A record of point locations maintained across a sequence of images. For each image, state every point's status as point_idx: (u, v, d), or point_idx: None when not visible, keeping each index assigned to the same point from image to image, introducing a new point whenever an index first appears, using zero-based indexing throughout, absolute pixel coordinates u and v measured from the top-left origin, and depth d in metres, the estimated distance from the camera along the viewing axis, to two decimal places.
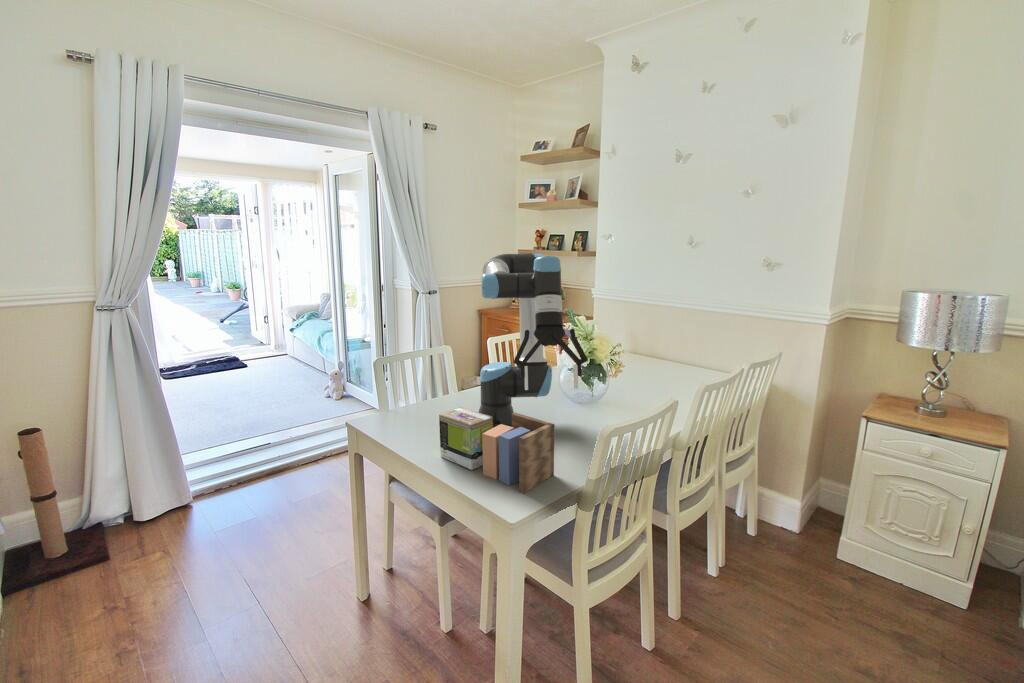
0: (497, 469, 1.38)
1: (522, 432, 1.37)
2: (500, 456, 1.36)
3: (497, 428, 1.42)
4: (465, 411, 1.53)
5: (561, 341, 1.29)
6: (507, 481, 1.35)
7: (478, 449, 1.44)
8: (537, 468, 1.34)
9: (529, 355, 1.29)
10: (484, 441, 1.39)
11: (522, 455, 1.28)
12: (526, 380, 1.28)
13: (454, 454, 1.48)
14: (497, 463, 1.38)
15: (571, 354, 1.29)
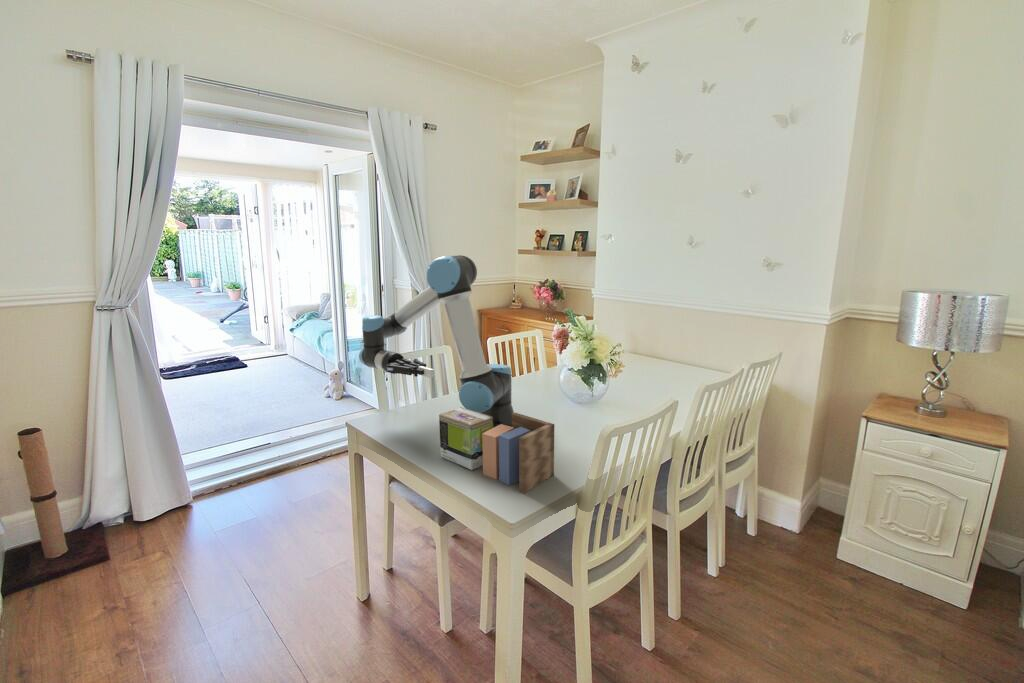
0: (497, 469, 1.38)
1: (522, 432, 1.37)
2: (500, 456, 1.36)
3: (497, 428, 1.42)
4: (465, 411, 1.53)
5: None
6: (507, 481, 1.35)
7: (478, 449, 1.44)
8: (537, 468, 1.34)
9: None
10: (484, 441, 1.39)
11: (522, 455, 1.28)
12: None
13: (454, 454, 1.48)
14: (497, 463, 1.38)
15: None
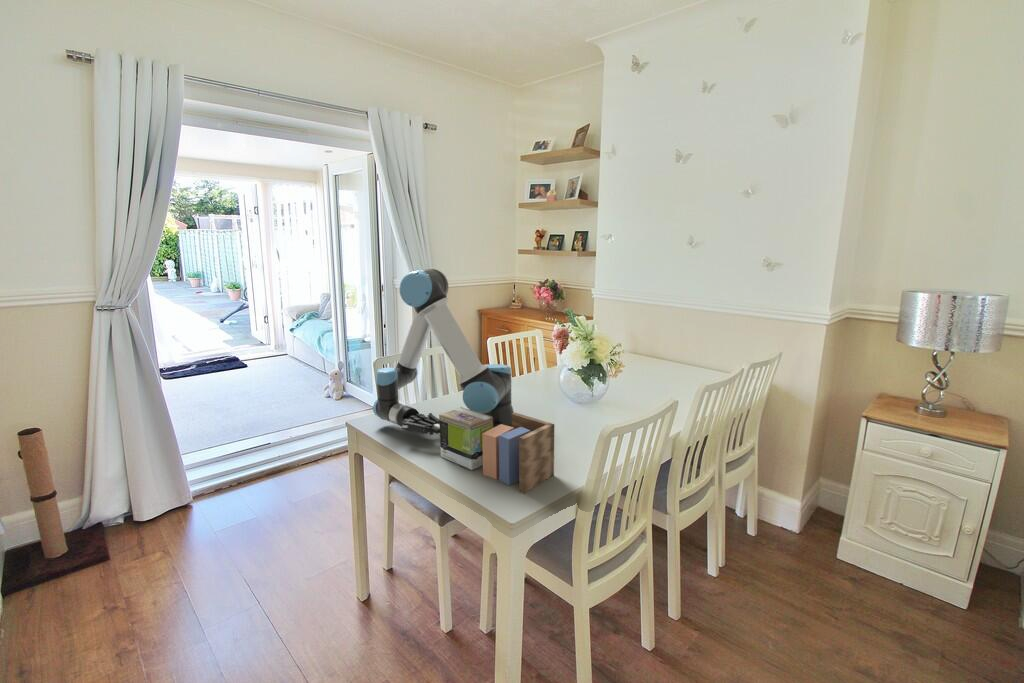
0: (497, 469, 1.38)
1: (522, 432, 1.37)
2: (500, 456, 1.36)
3: (497, 428, 1.42)
4: (465, 411, 1.53)
5: None
6: (507, 481, 1.35)
7: (478, 448, 1.44)
8: (537, 468, 1.34)
9: None
10: (484, 441, 1.39)
11: (522, 455, 1.28)
12: None
13: (454, 454, 1.48)
14: (497, 463, 1.38)
15: None
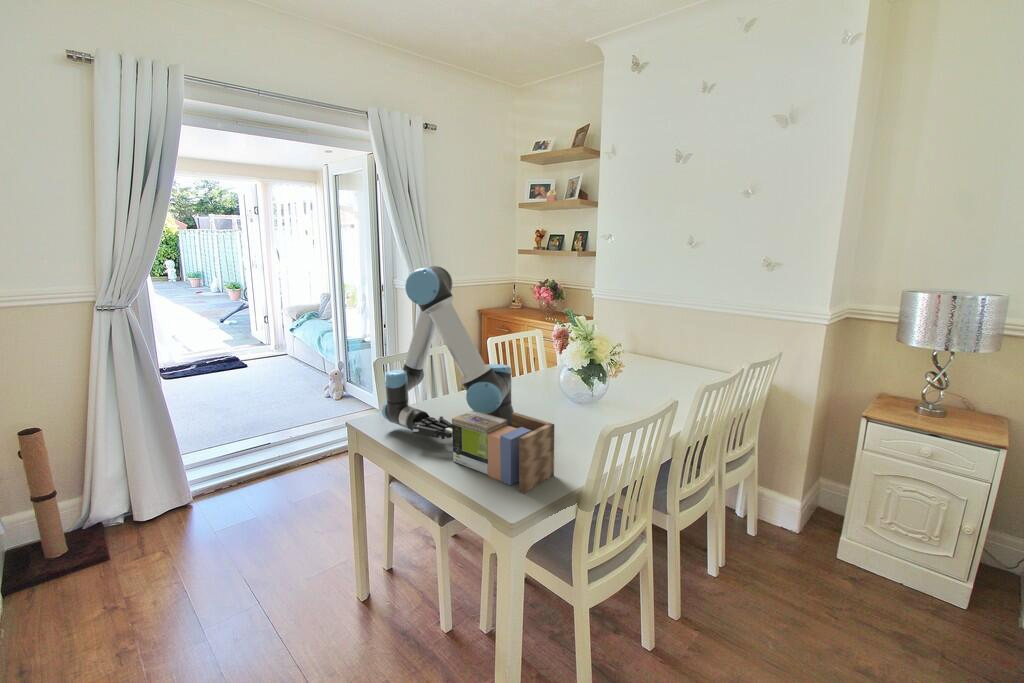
0: None
1: (523, 432, 1.37)
2: (501, 457, 1.35)
3: (503, 429, 1.41)
4: (478, 414, 1.49)
5: None
6: (509, 481, 1.35)
7: None
8: (537, 468, 1.34)
9: None
10: (489, 442, 1.38)
11: (522, 455, 1.28)
12: None
13: (469, 458, 1.44)
14: None
15: None
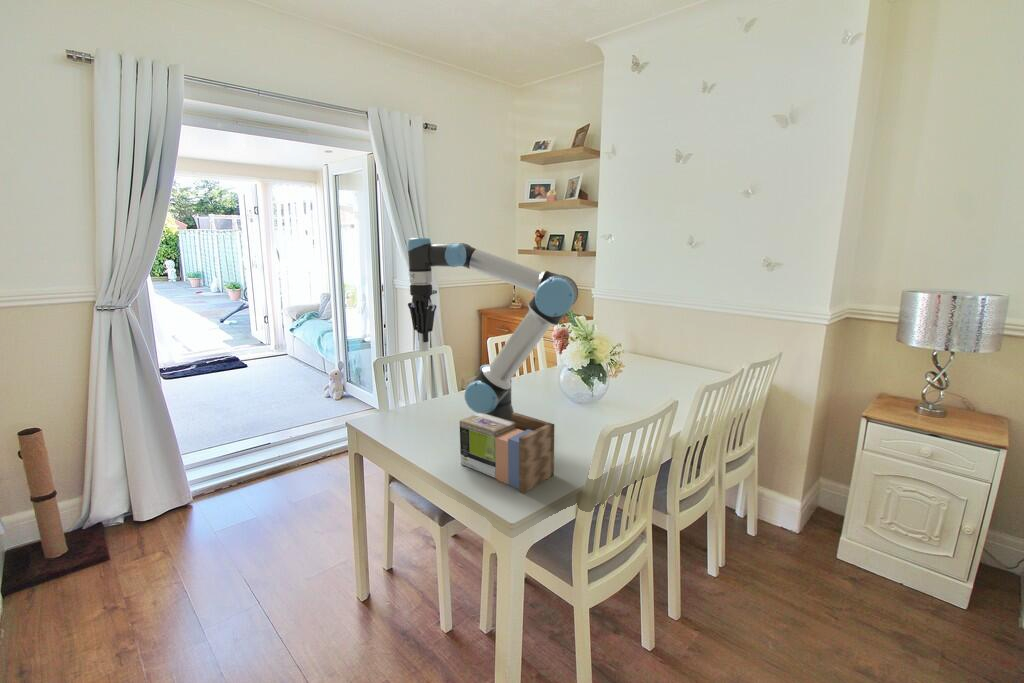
0: None
1: None
2: (509, 460, 1.33)
3: (511, 432, 1.39)
4: (486, 416, 1.48)
5: (420, 310, 1.62)
6: (517, 485, 1.33)
7: None
8: (537, 468, 1.34)
9: (417, 322, 1.65)
10: (497, 445, 1.36)
11: (522, 455, 1.28)
12: (419, 344, 1.66)
13: (476, 461, 1.43)
14: None
15: (422, 323, 1.64)
